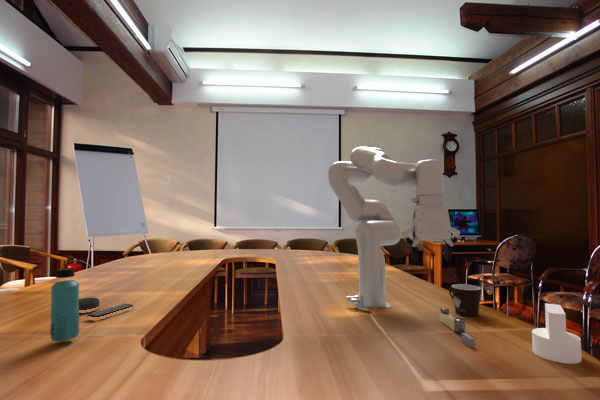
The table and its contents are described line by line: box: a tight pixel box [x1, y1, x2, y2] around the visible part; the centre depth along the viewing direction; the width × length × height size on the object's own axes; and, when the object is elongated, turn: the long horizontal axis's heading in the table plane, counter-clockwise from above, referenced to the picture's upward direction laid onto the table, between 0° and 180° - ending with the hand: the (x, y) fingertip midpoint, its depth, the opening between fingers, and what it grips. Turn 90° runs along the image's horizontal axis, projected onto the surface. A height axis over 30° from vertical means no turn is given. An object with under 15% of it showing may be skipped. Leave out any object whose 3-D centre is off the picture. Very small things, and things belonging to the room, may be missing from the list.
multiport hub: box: [87, 303, 134, 317], centre depth 115 cm, size 4×14×2 cm, turn 158°
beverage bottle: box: [49, 267, 81, 342], centre depth 91 cm, size 6×7×20 cm
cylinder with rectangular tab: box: [531, 302, 582, 365], centre depth 77 cm, size 9×9×12 cm
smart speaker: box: [79, 297, 100, 310], centre depth 120 cm, size 9×9×4 cm
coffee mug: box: [448, 283, 482, 318], centre depth 110 cm, size 12×9×10 cm
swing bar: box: [439, 307, 466, 335], centre depth 96 cm, size 12×3×4 cm, turn 1°
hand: (431, 259), depth 98 cm, fingers open, 9 cm apart
